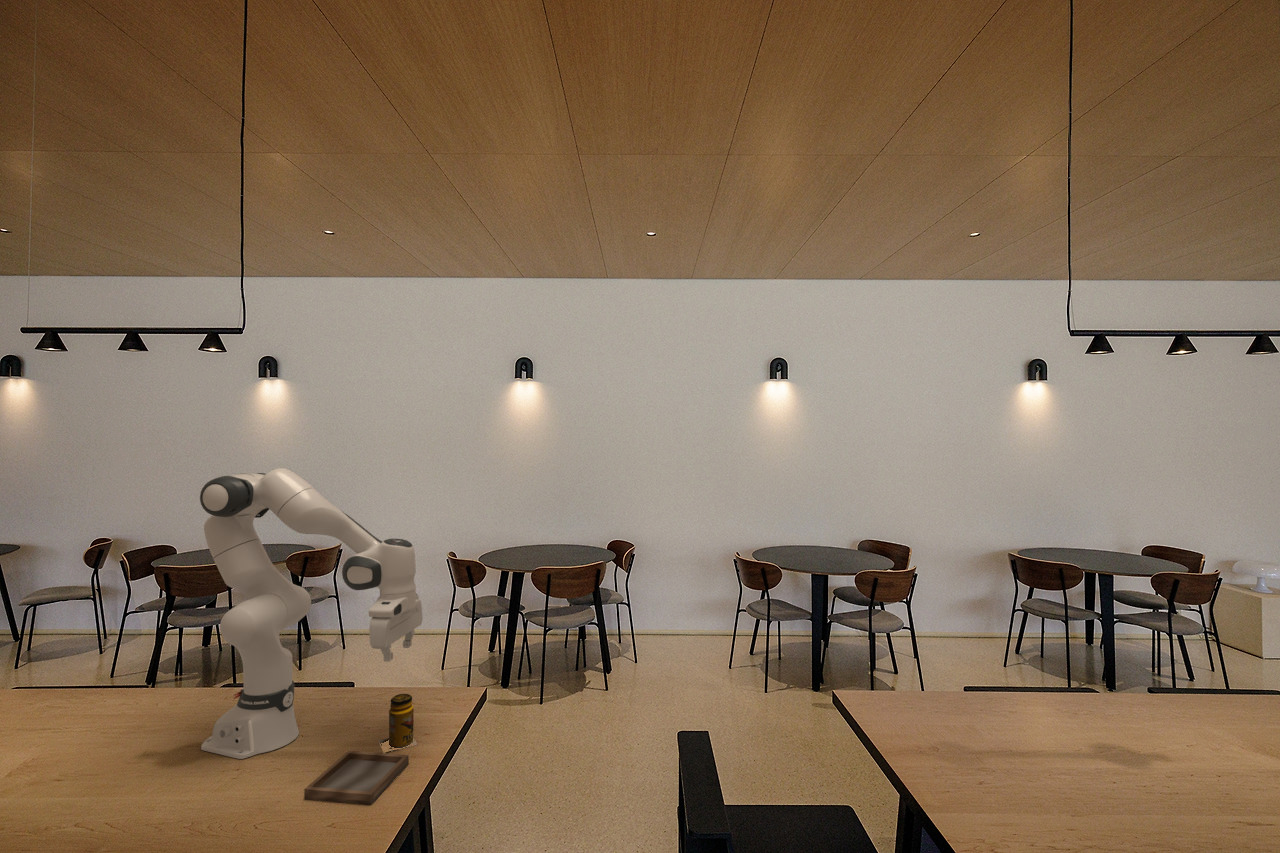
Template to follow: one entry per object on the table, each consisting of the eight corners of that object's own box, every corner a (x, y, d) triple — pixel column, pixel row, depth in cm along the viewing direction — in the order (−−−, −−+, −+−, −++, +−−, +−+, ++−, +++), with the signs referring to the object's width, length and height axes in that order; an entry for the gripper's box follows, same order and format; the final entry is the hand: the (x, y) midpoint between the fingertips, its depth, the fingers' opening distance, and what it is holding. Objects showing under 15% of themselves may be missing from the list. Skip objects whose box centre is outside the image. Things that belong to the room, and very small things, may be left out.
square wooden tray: (304, 799, 132) (304, 789, 132) (348, 759, 148) (348, 750, 148) (371, 805, 130) (371, 794, 130) (408, 764, 146) (408, 755, 146)
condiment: (417, 744, 155) (417, 699, 156) (383, 754, 151) (383, 707, 151) (411, 733, 162) (411, 689, 162) (377, 742, 157) (377, 696, 157)
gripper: (407, 590, 167) (407, 639, 167) (364, 612, 147) (364, 668, 147) (428, 590, 166) (428, 640, 166) (388, 613, 146) (388, 669, 146)
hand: (398, 653), depth 156 cm, fingers open, 8 cm apart
